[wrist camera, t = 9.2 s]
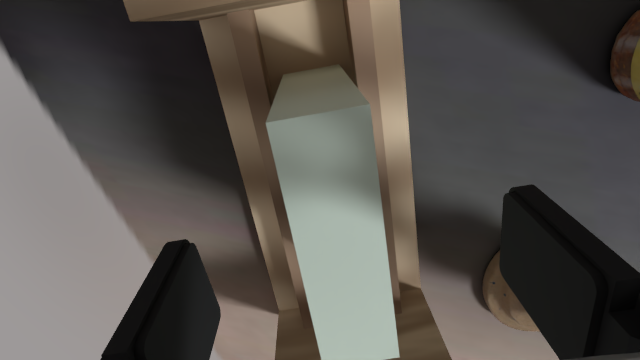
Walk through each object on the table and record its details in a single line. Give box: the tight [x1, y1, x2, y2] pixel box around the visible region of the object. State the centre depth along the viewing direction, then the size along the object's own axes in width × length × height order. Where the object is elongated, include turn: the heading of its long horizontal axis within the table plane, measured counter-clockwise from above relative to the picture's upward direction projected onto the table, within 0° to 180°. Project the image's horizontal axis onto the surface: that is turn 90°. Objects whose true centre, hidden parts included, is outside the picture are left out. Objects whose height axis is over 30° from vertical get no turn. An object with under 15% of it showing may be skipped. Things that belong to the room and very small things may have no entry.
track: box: [123, 0, 452, 360], centre depth 19 cm, size 22×10×9 cm, turn 10°
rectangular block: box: [266, 64, 400, 360], centre depth 17 cm, size 10×4×10 cm, turn 10°
